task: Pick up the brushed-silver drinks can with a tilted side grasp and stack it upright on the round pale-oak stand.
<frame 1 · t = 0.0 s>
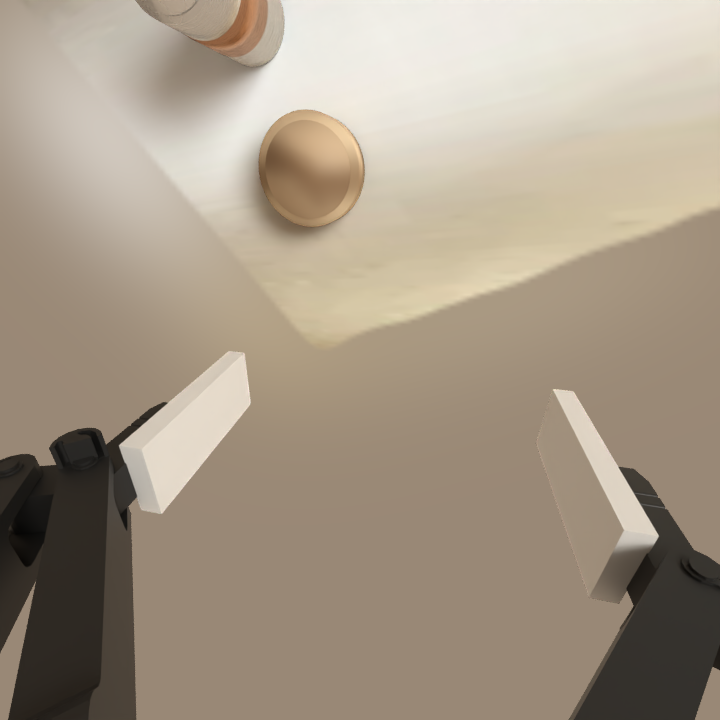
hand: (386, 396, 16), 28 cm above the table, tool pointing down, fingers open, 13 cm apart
stand: (316, 171, 38), on the table
can: (249, 21, 34), on the table
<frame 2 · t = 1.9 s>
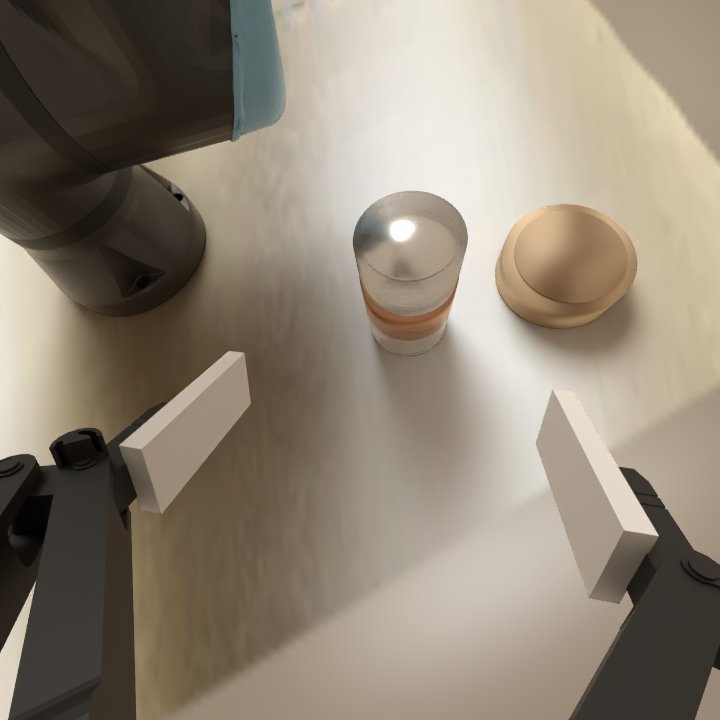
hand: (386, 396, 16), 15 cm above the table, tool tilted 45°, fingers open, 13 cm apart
stand: (554, 275, 33), on the table
can: (407, 320, 33), on the table
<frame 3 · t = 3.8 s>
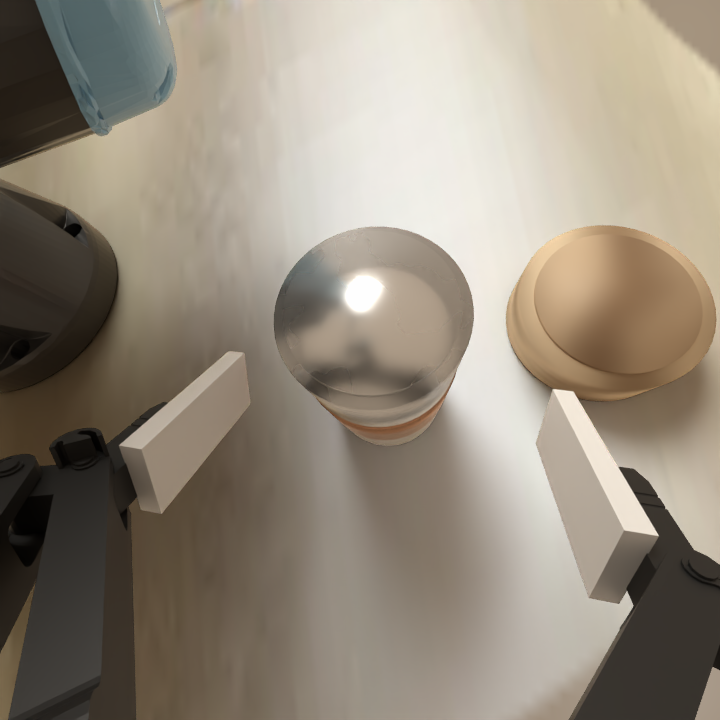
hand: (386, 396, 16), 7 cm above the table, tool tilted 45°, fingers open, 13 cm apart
stand: (588, 323, 24), on the table
can: (387, 392, 24), on the table
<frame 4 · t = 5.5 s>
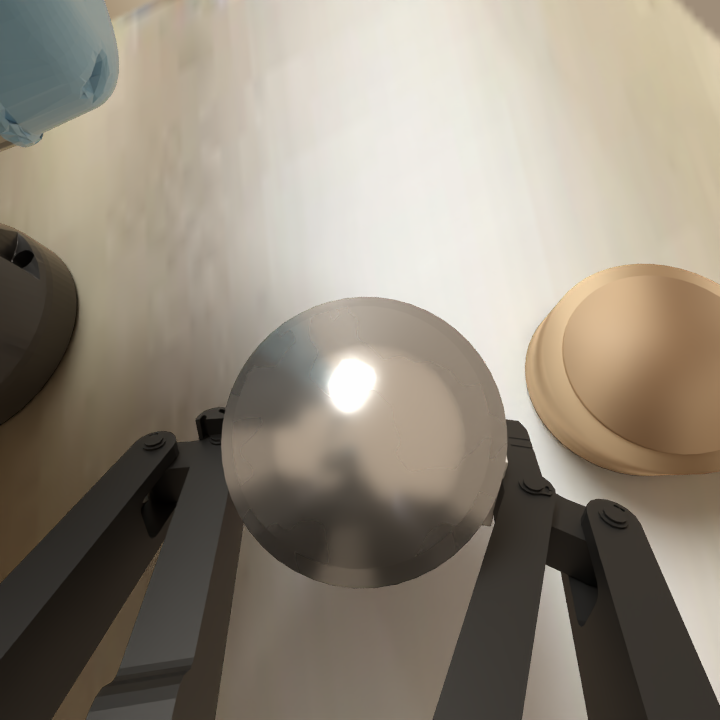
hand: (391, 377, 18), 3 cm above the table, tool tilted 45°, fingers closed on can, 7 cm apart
stand: (624, 377, 20), on the table
can: (385, 458, 20), on the table, touching gripper
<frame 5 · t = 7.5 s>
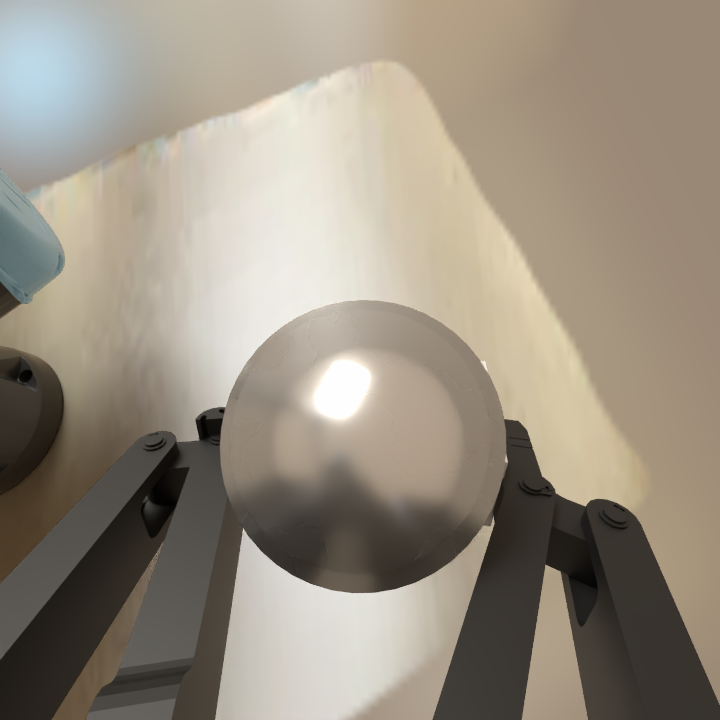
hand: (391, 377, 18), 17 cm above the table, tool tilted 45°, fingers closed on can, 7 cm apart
can: (384, 459, 20), point 13 cm above the table, touching gripper
when the fingers open (8 cm above the table, at t = 9.5 s): can drops 1 cm, resting on stand.
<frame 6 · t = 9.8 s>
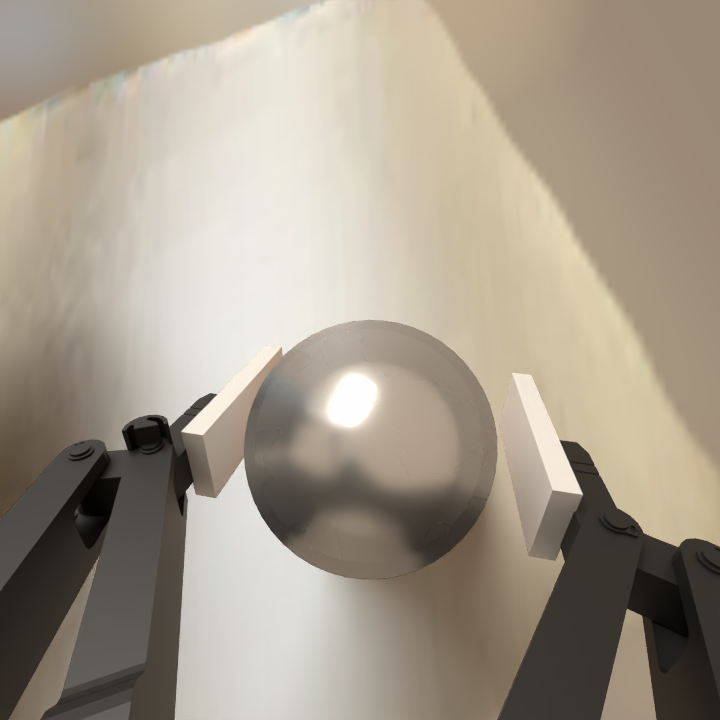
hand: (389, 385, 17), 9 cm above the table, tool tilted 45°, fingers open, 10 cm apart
can: (386, 461, 21), point 3 cm above the table, touching stand
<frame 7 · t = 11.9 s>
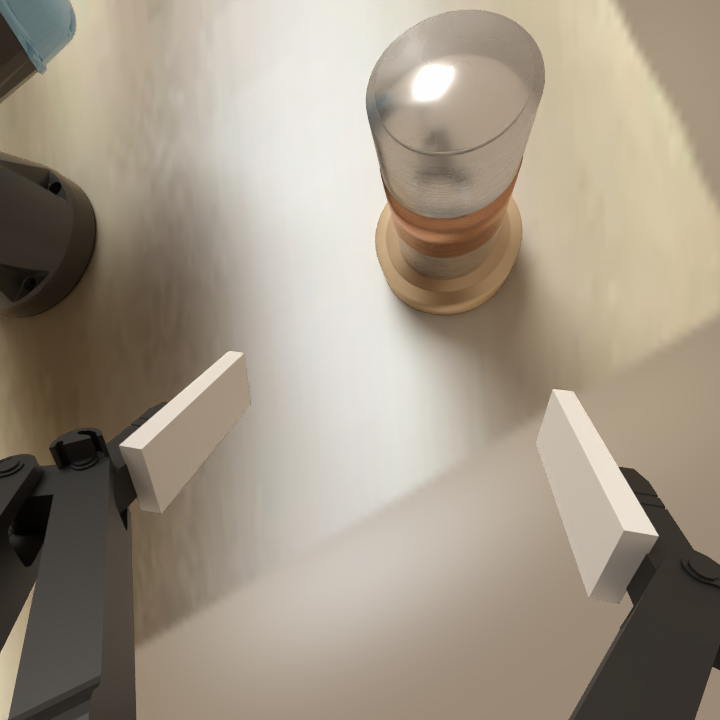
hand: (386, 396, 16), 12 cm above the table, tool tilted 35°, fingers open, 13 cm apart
stand: (445, 252, 29), on the table
can: (446, 234, 26), point 3 cm above the table, touching stand
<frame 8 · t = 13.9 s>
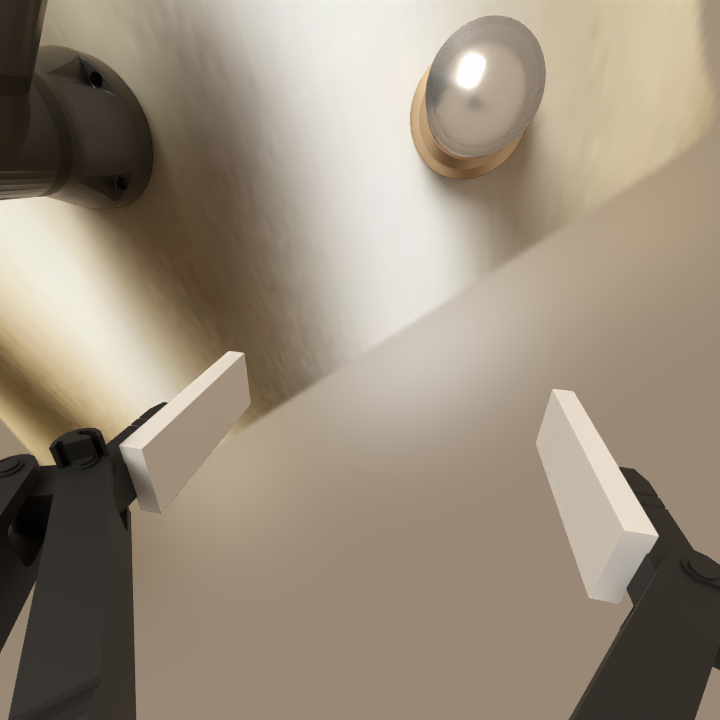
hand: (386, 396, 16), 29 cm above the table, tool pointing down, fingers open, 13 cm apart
stand: (466, 118, 35), on the table
can: (469, 115, 32), point 3 cm above the table, touching stand
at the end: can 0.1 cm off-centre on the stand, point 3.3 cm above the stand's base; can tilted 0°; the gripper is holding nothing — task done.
